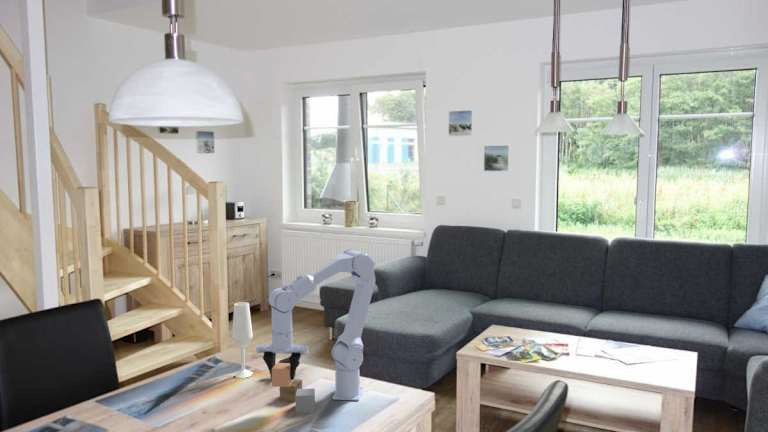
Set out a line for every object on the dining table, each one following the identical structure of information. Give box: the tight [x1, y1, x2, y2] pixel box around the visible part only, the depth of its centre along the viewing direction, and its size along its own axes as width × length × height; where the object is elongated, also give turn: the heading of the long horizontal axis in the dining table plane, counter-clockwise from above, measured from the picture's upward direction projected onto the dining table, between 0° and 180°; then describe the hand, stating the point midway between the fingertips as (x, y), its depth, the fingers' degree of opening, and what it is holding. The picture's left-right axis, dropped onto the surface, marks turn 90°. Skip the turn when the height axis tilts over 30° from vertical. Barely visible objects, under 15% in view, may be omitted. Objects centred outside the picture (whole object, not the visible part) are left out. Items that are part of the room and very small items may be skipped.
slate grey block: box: [295, 388, 316, 413], centre depth 170 cm, size 5×5×5 cm
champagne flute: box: [231, 301, 254, 379], centre depth 195 cm, size 7×7×24 cm
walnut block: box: [279, 378, 303, 403], centre depth 178 cm, size 5×5×5 cm
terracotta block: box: [271, 362, 295, 388], centre depth 168 cm, size 5×5×5 cm
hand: (283, 378), depth 168 cm, fingers closed on terracotta block, 5 cm apart
